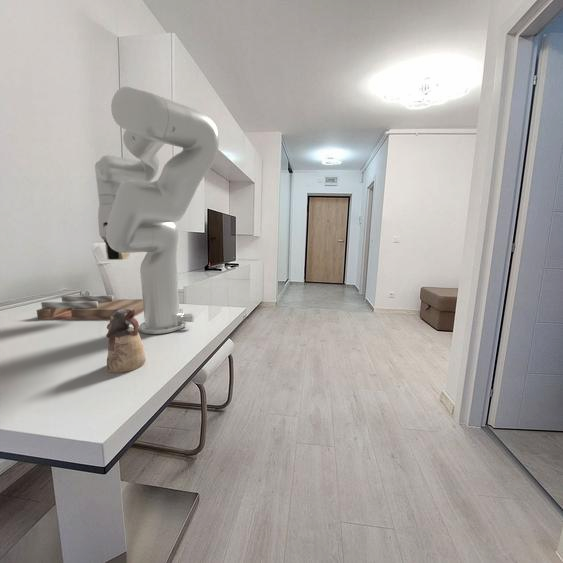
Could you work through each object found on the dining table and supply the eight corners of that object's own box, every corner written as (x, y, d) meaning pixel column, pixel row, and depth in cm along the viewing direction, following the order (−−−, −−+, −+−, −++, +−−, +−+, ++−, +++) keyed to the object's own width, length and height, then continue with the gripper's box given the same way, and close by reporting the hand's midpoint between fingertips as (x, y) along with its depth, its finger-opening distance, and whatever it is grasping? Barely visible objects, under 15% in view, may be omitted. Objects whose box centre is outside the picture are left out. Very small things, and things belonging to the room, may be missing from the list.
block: (130, 258, 98) (128, 243, 97) (122, 259, 93) (120, 244, 92) (115, 258, 98) (113, 243, 97) (107, 259, 93) (105, 244, 92)
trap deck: (150, 307, 106) (149, 293, 105) (131, 318, 92) (129, 303, 91) (69, 307, 106) (67, 294, 105) (37, 319, 92) (35, 304, 91)
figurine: (122, 356, 64) (116, 304, 61) (152, 358, 63) (148, 305, 61) (99, 372, 57) (91, 314, 54) (132, 374, 56) (126, 315, 54)
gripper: (115, 205, 101) (121, 256, 104) (83, 199, 84) (90, 260, 87) (137, 204, 101) (141, 256, 104) (108, 199, 84) (115, 260, 87)
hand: (118, 257), depth 95 cm, fingers closed on block, 5 cm apart
